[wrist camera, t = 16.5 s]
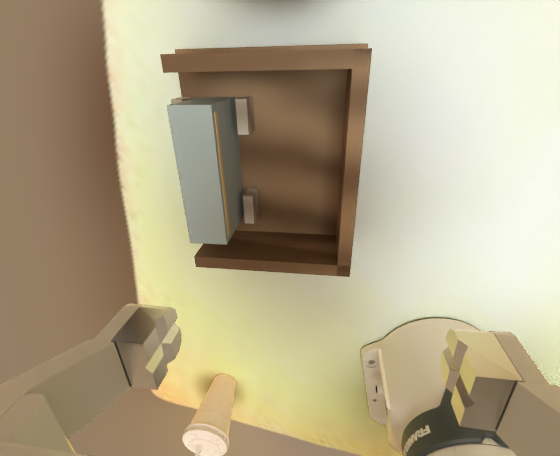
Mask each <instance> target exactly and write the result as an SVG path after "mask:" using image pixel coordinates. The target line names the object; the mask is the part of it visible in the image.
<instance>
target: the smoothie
mask: <svg viewBox="0 0 560 456" xmlns="http://www.w3.org/2000/svg"><path fill="white" fill-rule="evenodd" d="M235 389H236V381H235V379H234V378H233V377H231V376H229V375H226V374H219V375H217V376H216V377H215V378H214V380H213V382H212V384H211V386H210V388H209V390H208V392H207V393H206V395H205V397H204V399H203V401H202V403H201V405H200V407H199V409H198V411H197V413H196V415H195V416H194V418H193V420H192V422H191V424H190V425H189V426H188V427H187V428H186V429H185V433H184V435H183V443H184V445H185V446H186V447H187V448H188V449H189V450H190V451H192V452H194V453H195V456H199V455H201V456H222V455H224V454H225V453H226V451H227V448H228V445H229V438H228V434H229V427H230V421H231V415H232V408H233V402H234V396H235Z"/></svg>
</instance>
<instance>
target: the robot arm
mask: <svg viewBox="0 0 560 456" xmlns="http://www.w3.org/2000/svg"><path fill="white" fill-rule="evenodd" d="M177 318H178V317H177V314H176V310H175V309H173V308H171V307H161V306H151V305H138V304H128V305H125V306H124V307H123V308H122V309H121V310H120V311H119V312H118V314H117V315H116V316H115V317H114V318H113V319H112V320H111V321H110V322H109V324H108V325H107V326H106V327H105V328H104V329H103V330H102V331H101V332H100V333H99V334H98V335H97V336H96V338H95V339H94V340H87V341H85V342H83V343H81V344H79V345H77V346H75V347H73V348H71V349H70V350H68V351H66V352H64V353H62V354H60V355H58V356H56V357H54V358H52V359H50V360H48V361H46V362H44V363H42V364H40V365H38V366H36V367H34V368H33V369H30V370H28V371H26V372H25V373H23V374H21V375H19V376H17V377H15V378H13V379H11V380H9V381H7V382H5V383H3V384H1V385H0V456H91V455H84V454H79V453H75V451H74V449H73V448H72V446H71V444H70V442H69V440H68V439H69V438H71V437H72V436H73V435H74V434H76V433H77V432H78V431H79V430H81V428H83V427H84V426H85V425H86V424H88V423H89V422H90V421H92V420H93V419H94V418H95V417H97V416H98V415H99V414H100V413H101V412H103V411H104V410H105V409H106V408H107V407H109V406H110V405H111V404H113V402H115V401H116V400H118V399H119V398H120V397H121V396H122V395H124V394H125V393H126V392H127V391H129V390H130V387H132V388H143V389H154V390H157V389H158V387H159V386H160V384H161V382H162V380H163V379H164V377H165V375H166V373H167V372H168V369H167V364H168V363H169V362H171V361H172V360H174V359H175V357H176V355H177V354H178V352H179V348H180V345H181V331H180V328H179V327H178V326H177V325H176V324H175V323H174V322H175V321H176V319H177ZM361 358H362V365H363V372H364V379H365V386H366V393H367V400H368V407H369V413H370V417H371V419H372V420H374V421H375V422H377V423H379V424H382V425H384V426H386V427H387V433H388V439H389V444H390V446H391V447H392V448H393V449H394V450H396V451H397V452H399V453H401V454H402V455H403V456H560V387H558V386H557V385H549V383H548V382H547V380H546V379H545V378H544V376H543V375H542V373H541V372H540V370H539V369H538V368H537V366H536V365H535V363H534V362H533V360H532V359H531V358H530V356H529V355H528V353H527V352H526V351H525V349H524V348H523V346H522V345H521V343H520V342H519V341H518V339H517V338H516V336H515V335H514V334H512V333H511V332H495V331H490V332H488V331H479V330H478V329H476V328H475V327H473V326H471V325H469V324H466V323H464V322H460V321H457V320H452V319H443V318H432V319H423V320H418V321H414V322H411V323H408V324H405V325H403V326H401V327H399V328H397V329H396V330H394V331H393V332H391V333H390V334H389V335H388V336H386V337H385V338H384V339H382V340H381V341H378V342H375V343H372V344H369V345H367V346H365V347H363V348H362V350H361Z"/></svg>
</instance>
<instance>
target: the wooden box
mask: <svg viewBox="0 0 560 456" xmlns="http://www.w3.org/2000/svg"><path fill="white" fill-rule="evenodd" d="M371 53H372V48H371V49H368V44H338V45H305V46H272V47H239V48H206V49H175V54H160V55H161V61H162V67H163V73H167V72H178V74H179V81H180V87H181V94H182V97H181V98H176V99H172V100H171V103H172V104H174V103H178V102H182V101H187V100H191V99H195V98H199V97H236V99H235V103H236V116H237V128H238V135H239V145H240V157H241V170H242V183H243V206H244V216H243V217H242V219H241V221H240V223H239V224H238V226H237V228H236V230H235V231H234V233H233V235H232V237H231V238H230V240H229V242H228V244H227V245H224V244H205V243H204V244H203V245H202V247H201V248H200V249H199V251H198V252H197V254H196V255H195V256H194V258H195V264H196V267H207V268H222V269H238V270H253V271H268V272H284V273H299V274H314V275H330V276H345V277H349V276H350V266H351V256H352V246H353V236H354V226H355V215H356V205H357V195H358V185H359V175H360V165H361V154H362V144H363V134H364V124H365V114H366V104H367V93H368V83H369V73H370V63H371Z"/></svg>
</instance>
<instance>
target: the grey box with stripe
mask: <svg viewBox="0 0 560 456" xmlns="http://www.w3.org/2000/svg"><path fill="white" fill-rule="evenodd" d="M235 99H236V97H199V98H195V99H191V100H187V101H182V102H178V103H174V104H170V105H167V110H168V115H169V121H170V127H171V133H172V139H173V144H174V150H175V156H176V162H177V168H178V173H179V179H180V185H181V191H182V196H183V202H184V208H185V214H186V220H187V225H188V231H189V237H190V243H205V244H224V245H227V244H228V242H229V240H230V238H231V237H232V235H233V233H234V231H235V230H236V228H237V226H238V224H239V223H240V221H241V219H242V217H243V216H244V206H243V183H242V170H241V157H240V145H239V135H238V128H237V116H236V103H235Z"/></svg>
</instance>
